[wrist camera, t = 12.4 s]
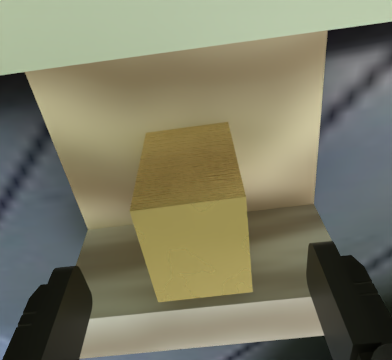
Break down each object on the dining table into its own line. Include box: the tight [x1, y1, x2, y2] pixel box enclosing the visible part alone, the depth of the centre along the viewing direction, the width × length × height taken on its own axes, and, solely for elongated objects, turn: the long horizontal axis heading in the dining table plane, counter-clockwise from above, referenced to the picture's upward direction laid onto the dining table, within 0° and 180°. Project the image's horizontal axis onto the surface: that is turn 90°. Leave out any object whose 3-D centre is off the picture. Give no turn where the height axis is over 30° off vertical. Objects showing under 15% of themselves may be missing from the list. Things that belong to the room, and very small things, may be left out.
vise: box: [25, 30, 332, 359], centre depth 13 cm, size 24×13×8 cm, turn 7°
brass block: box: [130, 122, 253, 302], centre depth 16 cm, size 5×4×6 cm
